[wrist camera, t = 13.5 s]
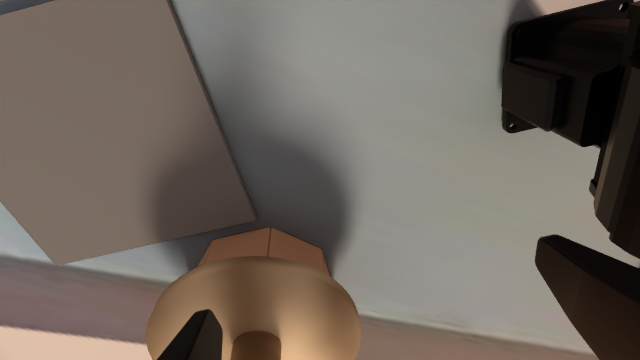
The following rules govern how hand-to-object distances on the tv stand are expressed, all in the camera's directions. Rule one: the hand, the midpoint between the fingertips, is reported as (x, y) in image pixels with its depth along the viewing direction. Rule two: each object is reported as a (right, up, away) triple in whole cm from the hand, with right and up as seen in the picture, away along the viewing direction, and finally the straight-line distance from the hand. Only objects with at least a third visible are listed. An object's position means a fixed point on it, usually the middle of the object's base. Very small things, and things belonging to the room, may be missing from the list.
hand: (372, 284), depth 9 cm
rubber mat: (-15, +5, +11) cm, 19 cm away
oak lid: (-6, -8, +14) cm, 17 cm away
